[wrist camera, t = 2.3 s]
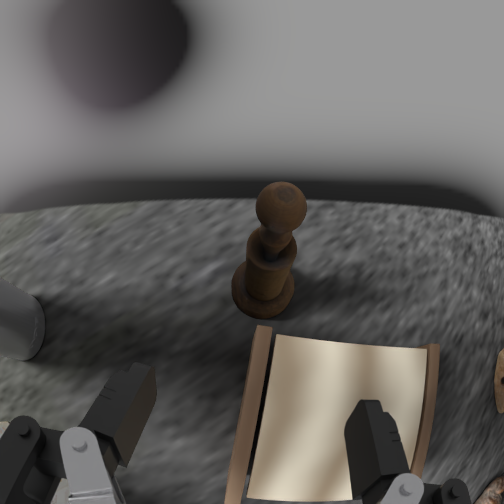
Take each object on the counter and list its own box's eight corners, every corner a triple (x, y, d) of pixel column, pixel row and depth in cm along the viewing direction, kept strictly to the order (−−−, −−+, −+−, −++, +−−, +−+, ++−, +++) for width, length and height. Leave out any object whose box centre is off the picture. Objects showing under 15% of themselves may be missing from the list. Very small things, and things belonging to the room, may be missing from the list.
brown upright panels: (228, 473, 23) (224, 504, 16) (252, 338, 30) (257, 324, 22) (378, 477, 23) (414, 498, 15) (397, 354, 29) (439, 344, 22)
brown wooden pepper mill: (277, 255, 34) (309, 143, 18) (300, 306, 32) (362, 225, 15) (223, 274, 33) (209, 167, 16) (244, 328, 30) (249, 264, 14)
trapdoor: (245, 475, 21) (246, 497, 16) (269, 343, 27) (276, 334, 22) (376, 477, 21) (403, 492, 16) (396, 356, 27) (427, 348, 21)
